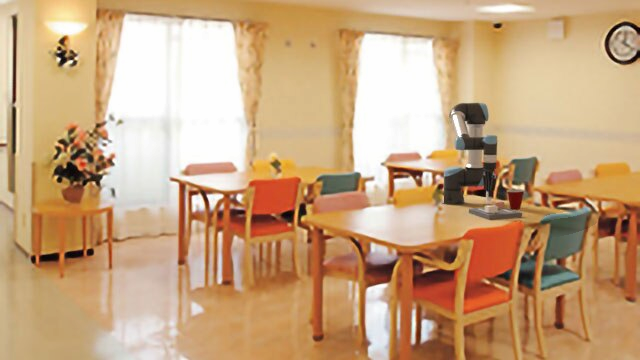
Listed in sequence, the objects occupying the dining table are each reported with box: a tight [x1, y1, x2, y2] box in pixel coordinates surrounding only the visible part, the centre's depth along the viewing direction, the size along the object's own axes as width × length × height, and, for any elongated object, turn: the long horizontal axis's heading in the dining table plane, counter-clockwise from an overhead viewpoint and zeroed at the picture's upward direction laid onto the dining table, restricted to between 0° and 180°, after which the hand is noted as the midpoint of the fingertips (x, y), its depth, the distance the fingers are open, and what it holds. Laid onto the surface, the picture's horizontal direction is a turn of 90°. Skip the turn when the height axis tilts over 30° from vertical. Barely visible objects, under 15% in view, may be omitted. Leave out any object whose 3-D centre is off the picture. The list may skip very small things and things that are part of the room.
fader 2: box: [491, 200, 505, 208], centre depth 388 cm, size 4×6×4 cm, turn 108°
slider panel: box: [468, 207, 523, 220], centre depth 381 cm, size 22×22×3 cm
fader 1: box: [484, 204, 498, 213], centre depth 373 cm, size 4×6×4 cm, turn 108°
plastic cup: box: [506, 189, 525, 211], centre depth 398 cm, size 11×11×12 cm
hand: (488, 202), depth 376 cm, fingers closed
